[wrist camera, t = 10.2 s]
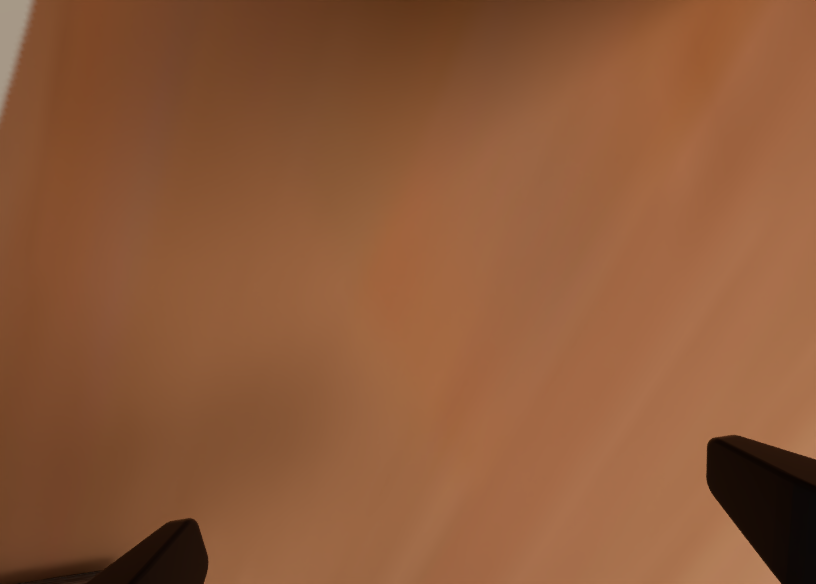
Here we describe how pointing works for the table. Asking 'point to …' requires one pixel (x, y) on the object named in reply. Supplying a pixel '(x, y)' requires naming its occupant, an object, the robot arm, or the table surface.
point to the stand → (67, 579)
